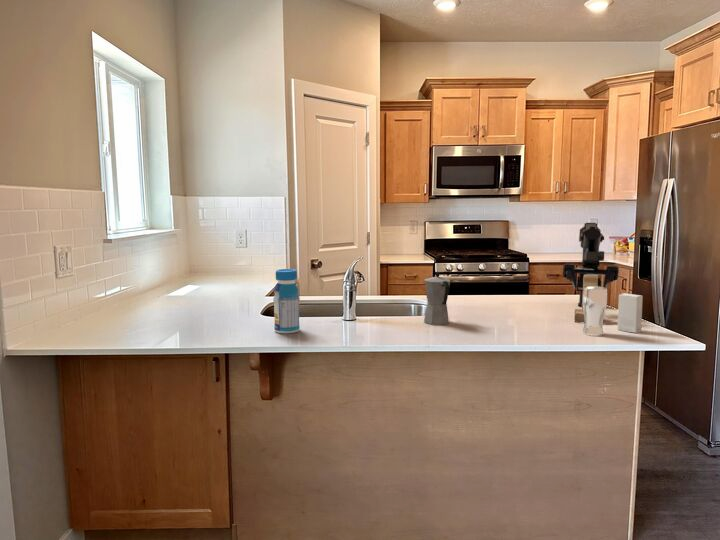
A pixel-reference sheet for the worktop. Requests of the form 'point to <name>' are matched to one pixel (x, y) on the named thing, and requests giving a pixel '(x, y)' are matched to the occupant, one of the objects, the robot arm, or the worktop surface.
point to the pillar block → (589, 283)
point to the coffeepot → (436, 300)
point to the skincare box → (630, 312)
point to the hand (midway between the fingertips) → (589, 290)
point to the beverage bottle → (286, 302)
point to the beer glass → (594, 309)
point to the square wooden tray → (579, 316)
